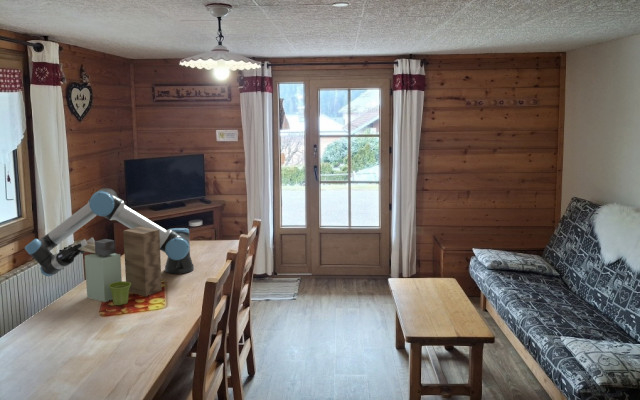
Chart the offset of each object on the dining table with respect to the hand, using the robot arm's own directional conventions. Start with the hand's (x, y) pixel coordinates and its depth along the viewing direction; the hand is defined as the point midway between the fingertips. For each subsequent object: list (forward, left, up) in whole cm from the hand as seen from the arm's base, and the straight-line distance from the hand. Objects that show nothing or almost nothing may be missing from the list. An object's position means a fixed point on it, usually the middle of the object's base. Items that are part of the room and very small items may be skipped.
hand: (89, 240), depth 260 cm
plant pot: (+2, +21, -26) cm, 34 cm away
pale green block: (0, +8, -26) cm, 27 cm away
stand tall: (-15, +18, -26) cm, 35 cm away
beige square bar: (0, +2, -5) cm, 5 cm away
